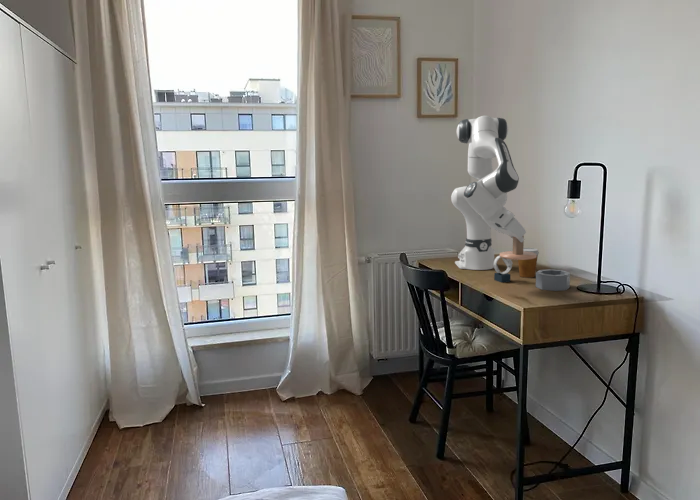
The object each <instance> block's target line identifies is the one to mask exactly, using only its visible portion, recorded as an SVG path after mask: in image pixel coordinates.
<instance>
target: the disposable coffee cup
mask: <svg viewBox="0 0 700 500" xmlns="http://www.w3.org/2000/svg"><path fill="white" fill-rule="evenodd" d="M523 251H526V252H533V253H536V254H537V257H536V258H534V259H528V260H517V264H518V265H517V266H518V272H519V277H521V278H526V279H527V278H528V279H529V278H531V279H532V278H534V277H535V278H536V269H537V263H538V257H539V254H540V252H539V249H538V248H535V247H523Z"/></svg>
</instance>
